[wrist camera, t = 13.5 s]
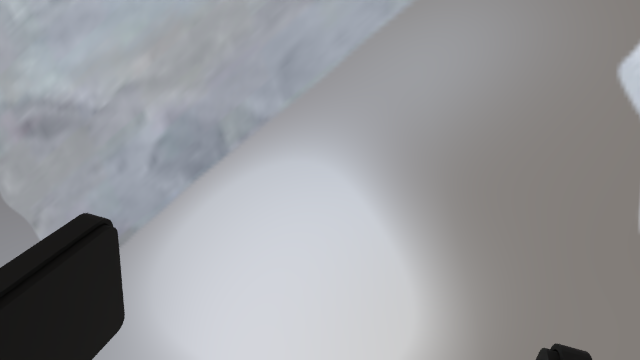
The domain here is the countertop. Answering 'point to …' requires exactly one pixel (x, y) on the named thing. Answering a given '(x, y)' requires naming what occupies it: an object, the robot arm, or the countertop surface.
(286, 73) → the countertop surface
